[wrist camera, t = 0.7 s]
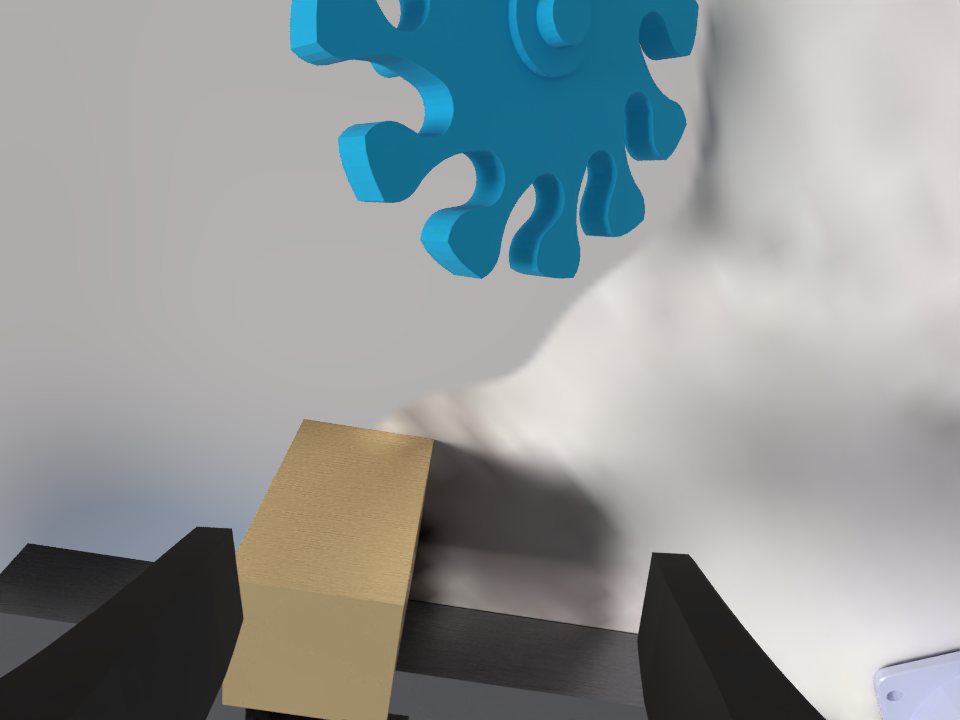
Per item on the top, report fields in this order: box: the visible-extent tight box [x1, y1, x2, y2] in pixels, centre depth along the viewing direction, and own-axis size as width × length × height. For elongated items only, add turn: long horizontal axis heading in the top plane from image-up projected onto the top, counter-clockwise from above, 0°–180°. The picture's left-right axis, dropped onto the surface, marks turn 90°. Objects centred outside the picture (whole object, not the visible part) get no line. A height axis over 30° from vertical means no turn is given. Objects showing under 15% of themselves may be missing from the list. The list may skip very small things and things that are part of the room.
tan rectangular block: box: [222, 419, 434, 720], centre depth 21 cm, size 4×4×7 cm
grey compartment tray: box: [0, 543, 648, 720], centre depth 26 cm, size 22×9×3 cm, turn 81°
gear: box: [290, 0, 698, 279], centre depth 16 cm, size 11×6×10 cm
